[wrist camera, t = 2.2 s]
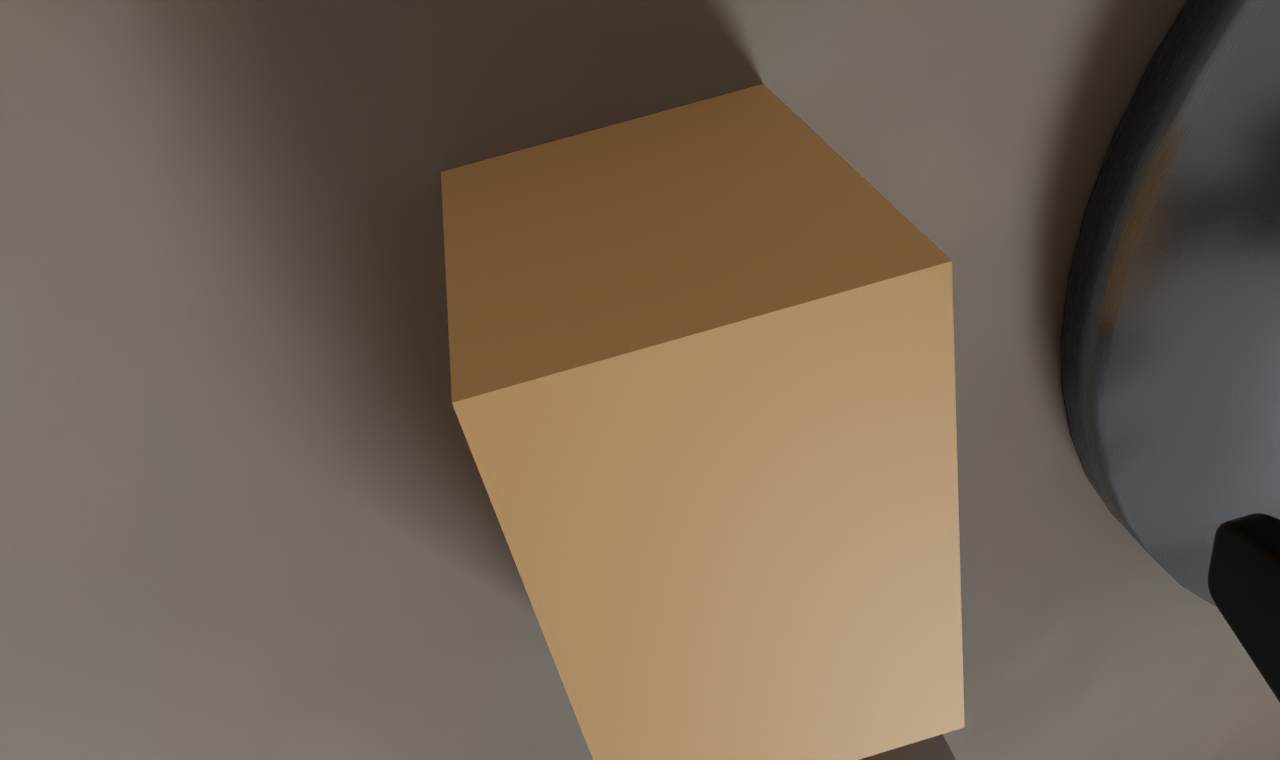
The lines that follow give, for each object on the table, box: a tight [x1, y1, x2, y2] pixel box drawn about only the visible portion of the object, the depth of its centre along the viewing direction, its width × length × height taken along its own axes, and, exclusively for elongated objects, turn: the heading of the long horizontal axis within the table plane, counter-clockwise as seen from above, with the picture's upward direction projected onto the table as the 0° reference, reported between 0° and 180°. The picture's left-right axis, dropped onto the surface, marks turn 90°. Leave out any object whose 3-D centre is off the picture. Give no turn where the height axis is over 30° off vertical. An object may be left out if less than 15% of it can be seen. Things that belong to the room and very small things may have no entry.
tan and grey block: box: [441, 84, 964, 760], centre depth 12 cm, size 4×9×5 cm, turn 12°
